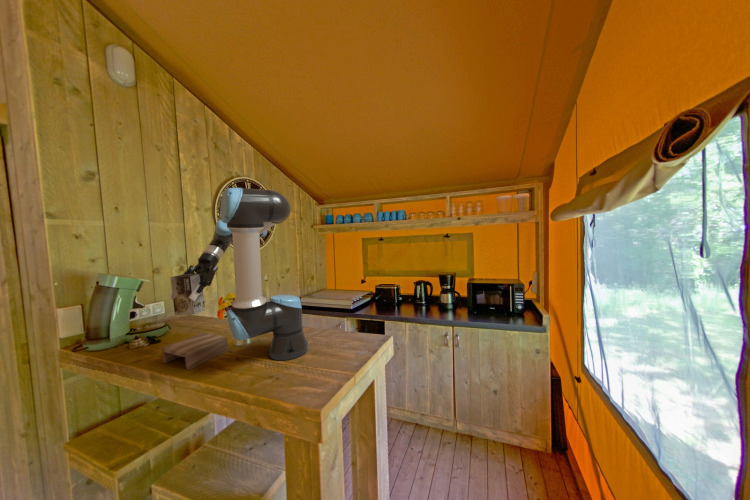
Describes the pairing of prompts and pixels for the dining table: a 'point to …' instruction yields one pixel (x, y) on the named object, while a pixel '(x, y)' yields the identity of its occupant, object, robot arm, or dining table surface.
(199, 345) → the walnut shelf
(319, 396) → the dining table surface
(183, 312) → the coffee box
